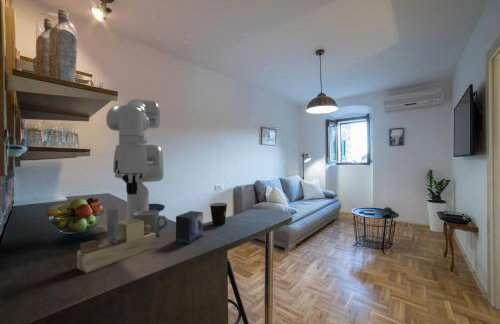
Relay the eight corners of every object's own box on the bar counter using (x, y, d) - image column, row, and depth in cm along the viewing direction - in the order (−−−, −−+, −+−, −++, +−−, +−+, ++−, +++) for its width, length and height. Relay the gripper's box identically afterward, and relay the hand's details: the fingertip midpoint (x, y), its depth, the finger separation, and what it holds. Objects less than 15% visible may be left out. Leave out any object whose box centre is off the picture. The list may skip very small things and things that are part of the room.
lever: (106, 242, 70) (106, 208, 71) (111, 240, 72) (111, 207, 72) (114, 245, 68) (113, 210, 68) (118, 243, 69) (118, 209, 69)
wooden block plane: (77, 267, 64) (77, 241, 64) (146, 244, 83) (146, 223, 83) (86, 273, 61) (85, 244, 61) (156, 247, 80) (155, 225, 80)
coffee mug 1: (129, 240, 87) (129, 215, 87) (138, 232, 97) (138, 210, 97) (163, 238, 89) (163, 214, 89) (169, 231, 99) (169, 209, 99)
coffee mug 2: (219, 220, 116) (219, 202, 116) (230, 223, 110) (230, 203, 110) (202, 225, 107) (201, 205, 107) (213, 228, 101) (213, 207, 101)
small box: (189, 245, 81) (188, 217, 81) (175, 243, 83) (174, 216, 83) (204, 236, 91) (203, 211, 91) (190, 234, 93) (190, 210, 93)
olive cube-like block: (115, 239, 74) (115, 222, 74) (132, 234, 79) (132, 218, 79) (126, 243, 70) (126, 225, 70) (144, 237, 75) (143, 220, 75)
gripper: (145, 144, 84) (145, 191, 83) (102, 141, 71) (103, 196, 71) (157, 142, 80) (157, 192, 79) (114, 138, 67) (114, 197, 67)
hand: (132, 194), depth 75 cm, fingers closed
